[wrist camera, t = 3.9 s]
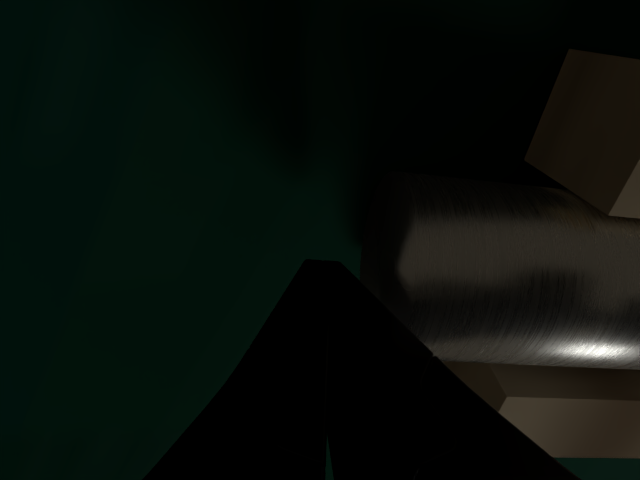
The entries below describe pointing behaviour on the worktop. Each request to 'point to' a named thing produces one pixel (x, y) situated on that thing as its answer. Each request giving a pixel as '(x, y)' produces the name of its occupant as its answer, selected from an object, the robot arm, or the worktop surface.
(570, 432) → the bore beam
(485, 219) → the axle
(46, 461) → the worktop surface
